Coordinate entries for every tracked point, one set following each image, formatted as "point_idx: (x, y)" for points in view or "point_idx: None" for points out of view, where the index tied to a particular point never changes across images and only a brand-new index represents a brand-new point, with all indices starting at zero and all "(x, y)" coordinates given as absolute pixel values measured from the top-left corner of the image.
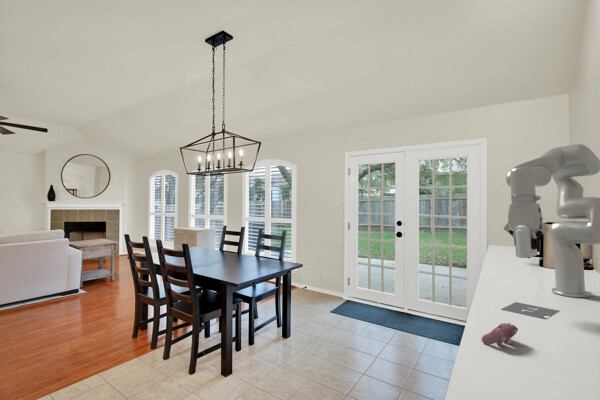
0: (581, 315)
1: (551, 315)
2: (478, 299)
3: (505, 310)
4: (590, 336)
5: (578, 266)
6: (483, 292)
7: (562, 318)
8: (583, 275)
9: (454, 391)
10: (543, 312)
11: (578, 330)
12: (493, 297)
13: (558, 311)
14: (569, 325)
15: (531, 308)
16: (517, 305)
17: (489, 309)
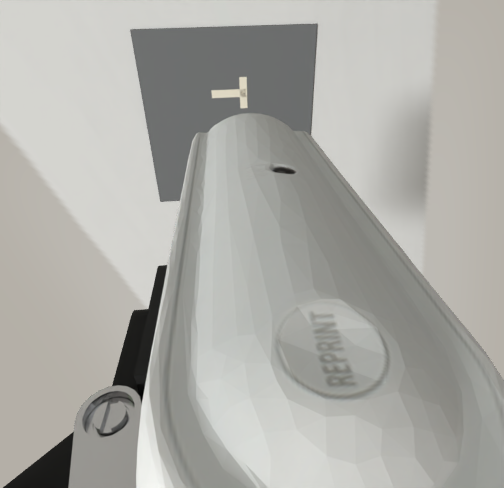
0: (393, 24)
1: (308, 131)
2: (9, 131)
3: (177, 199)
4: (416, 241)
5: None
6: None
7: (342, 134)
8: None
9: None
10: (277, 113)
11: (391, 219)
12: (8, 23)
13: (315, 42)
14: (368, 194)
15: (226, 92)
16: (168, 91)
17: (138, 230)
